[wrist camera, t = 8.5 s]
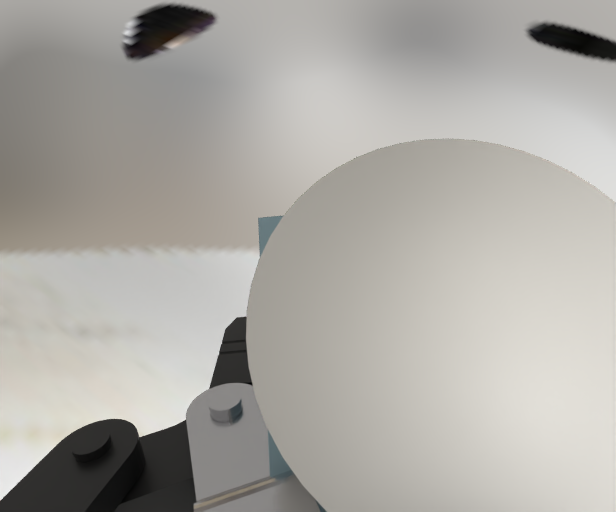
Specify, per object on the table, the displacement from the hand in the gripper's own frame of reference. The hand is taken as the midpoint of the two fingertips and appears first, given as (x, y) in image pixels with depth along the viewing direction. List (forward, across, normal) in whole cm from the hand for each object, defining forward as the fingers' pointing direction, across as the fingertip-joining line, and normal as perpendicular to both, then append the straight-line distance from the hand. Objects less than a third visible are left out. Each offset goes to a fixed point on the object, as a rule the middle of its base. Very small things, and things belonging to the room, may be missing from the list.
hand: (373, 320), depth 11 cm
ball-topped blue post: (+2, 0, +5) cm, 6 cm away
